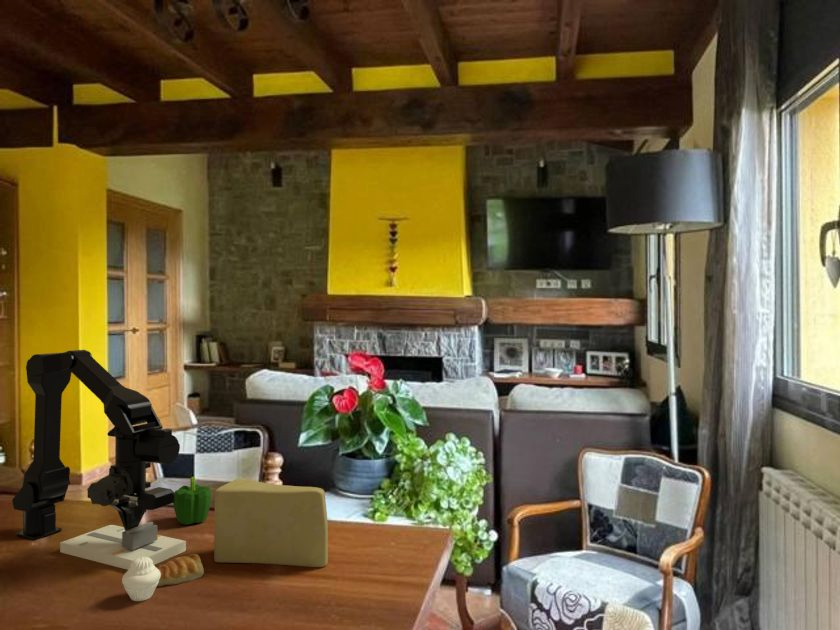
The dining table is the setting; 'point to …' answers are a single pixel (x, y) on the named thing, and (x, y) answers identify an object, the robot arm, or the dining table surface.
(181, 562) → the pastry
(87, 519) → the dining table surface
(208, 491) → the bell pepper
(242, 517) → the cheese
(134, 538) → the fader cap
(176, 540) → the dimmer console
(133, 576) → the muffin
